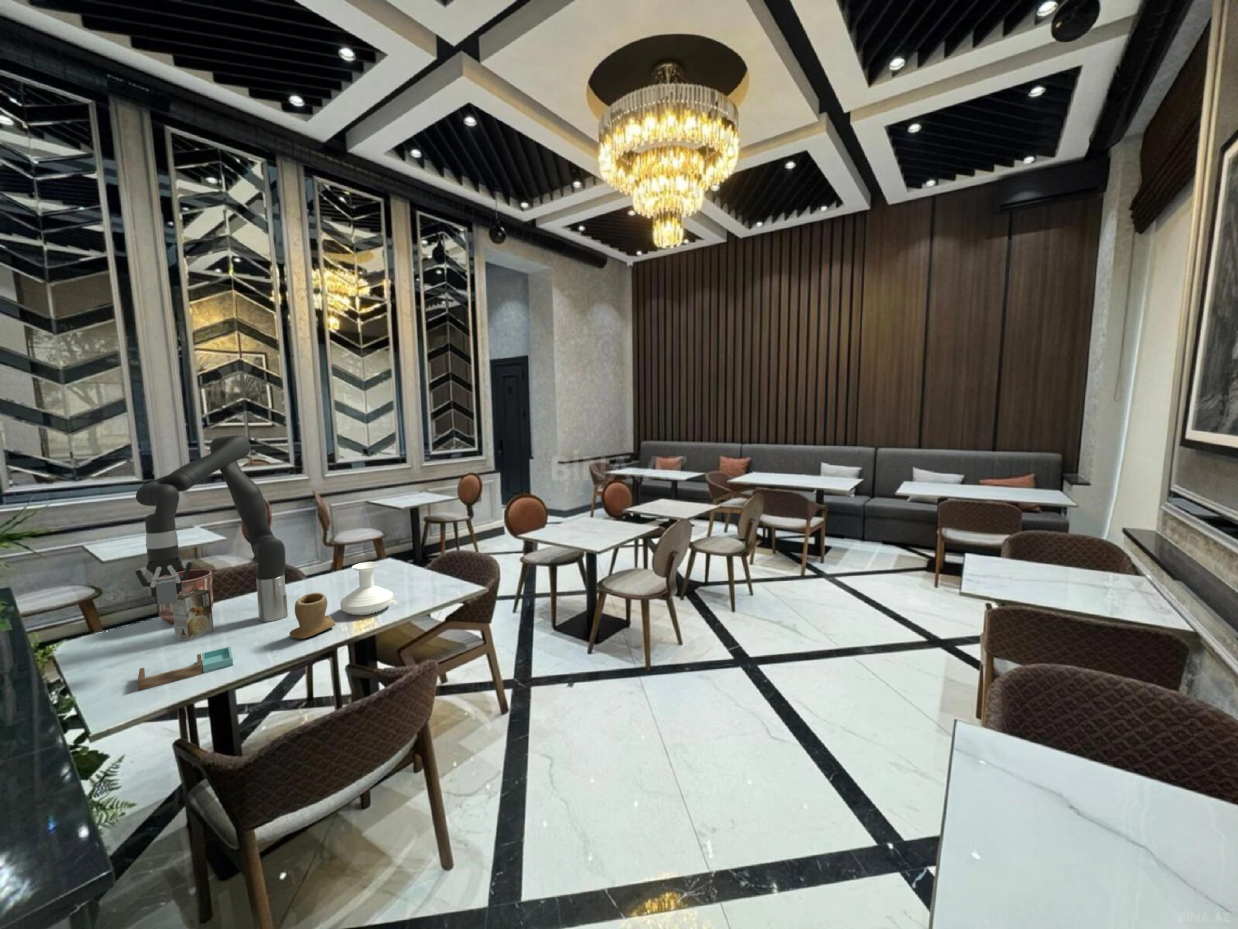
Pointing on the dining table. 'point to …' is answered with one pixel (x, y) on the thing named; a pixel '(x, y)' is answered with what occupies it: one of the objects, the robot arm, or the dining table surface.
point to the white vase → (366, 593)
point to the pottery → (188, 590)
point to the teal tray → (217, 659)
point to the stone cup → (311, 616)
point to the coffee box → (192, 615)
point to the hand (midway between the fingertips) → (167, 595)
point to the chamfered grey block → (166, 590)
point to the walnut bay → (169, 675)
